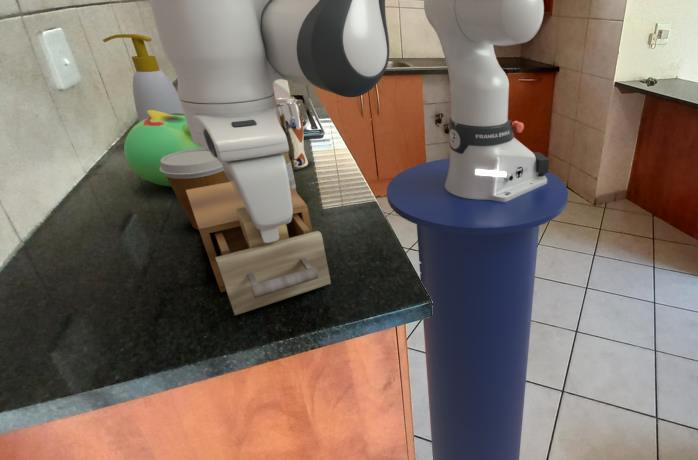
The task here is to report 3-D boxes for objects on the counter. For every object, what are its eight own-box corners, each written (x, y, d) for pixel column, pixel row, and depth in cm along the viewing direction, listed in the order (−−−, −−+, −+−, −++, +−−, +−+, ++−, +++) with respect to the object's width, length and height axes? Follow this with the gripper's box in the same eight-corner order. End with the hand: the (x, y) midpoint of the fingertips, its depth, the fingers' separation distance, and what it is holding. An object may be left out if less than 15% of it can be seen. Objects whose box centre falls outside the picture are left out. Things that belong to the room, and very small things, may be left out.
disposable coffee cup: (190, 213, 77) (168, 149, 71) (250, 208, 80) (233, 146, 74) (173, 238, 69) (146, 168, 63) (240, 231, 72) (220, 164, 66)
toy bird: (162, 169, 95) (137, 101, 88) (247, 165, 99) (230, 100, 92) (122, 202, 79) (88, 124, 72) (224, 195, 84) (202, 121, 77)
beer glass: (308, 170, 98) (295, 104, 91) (275, 171, 96) (259, 104, 89) (312, 160, 104) (301, 97, 97) (281, 161, 102) (267, 97, 95)
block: (281, 230, 57) (274, 200, 55) (290, 243, 55) (283, 213, 52) (244, 239, 55) (235, 208, 53) (252, 254, 52) (242, 222, 50)
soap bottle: (149, 145, 108) (107, 32, 95) (204, 141, 113) (170, 32, 100) (140, 159, 99) (93, 36, 87) (200, 153, 104) (163, 37, 92)
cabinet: (318, 263, 65) (307, 205, 60) (220, 292, 57) (198, 229, 53) (291, 225, 75) (279, 173, 70) (205, 246, 67) (185, 189, 63)
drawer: (343, 300, 56) (333, 248, 52) (242, 336, 49) (223, 280, 45) (302, 243, 68) (292, 197, 64) (217, 265, 61) (200, 217, 57)
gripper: (190, 106, 53) (222, 207, 59) (217, 150, 39) (254, 275, 45) (248, 101, 56) (272, 196, 63) (291, 140, 42) (316, 257, 49)
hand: (265, 230), depth 54 cm, fingers closed on block, 4 cm apart
